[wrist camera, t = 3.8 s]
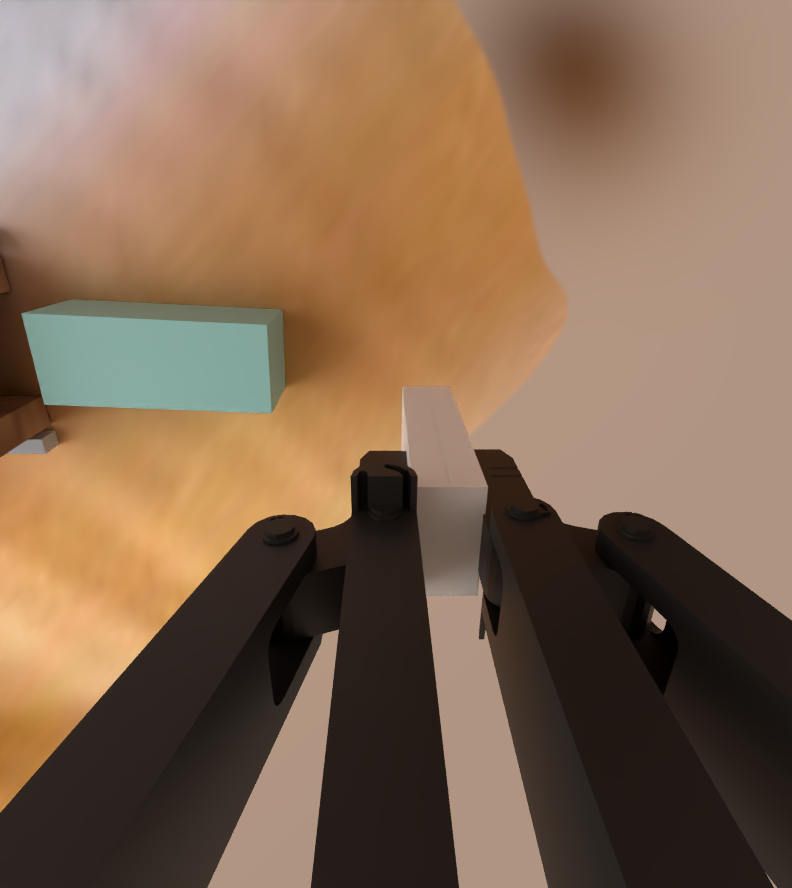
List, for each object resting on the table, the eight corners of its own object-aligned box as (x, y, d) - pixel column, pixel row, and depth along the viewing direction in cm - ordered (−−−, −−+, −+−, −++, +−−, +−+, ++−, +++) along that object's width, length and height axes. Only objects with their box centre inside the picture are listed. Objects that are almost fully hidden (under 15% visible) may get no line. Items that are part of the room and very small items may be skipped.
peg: (74, 298, 24) (21, 313, 21) (283, 308, 25) (266, 324, 21) (91, 377, 26) (44, 404, 22) (286, 385, 26) (271, 413, 23)
